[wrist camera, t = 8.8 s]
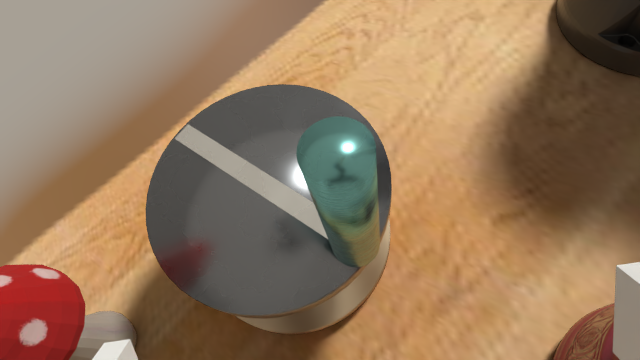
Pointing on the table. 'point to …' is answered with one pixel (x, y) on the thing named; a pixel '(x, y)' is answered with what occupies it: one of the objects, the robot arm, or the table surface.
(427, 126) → the table surface
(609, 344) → the canister
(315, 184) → the crank wheel
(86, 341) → the decorative mushroom
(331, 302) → the cylinder
